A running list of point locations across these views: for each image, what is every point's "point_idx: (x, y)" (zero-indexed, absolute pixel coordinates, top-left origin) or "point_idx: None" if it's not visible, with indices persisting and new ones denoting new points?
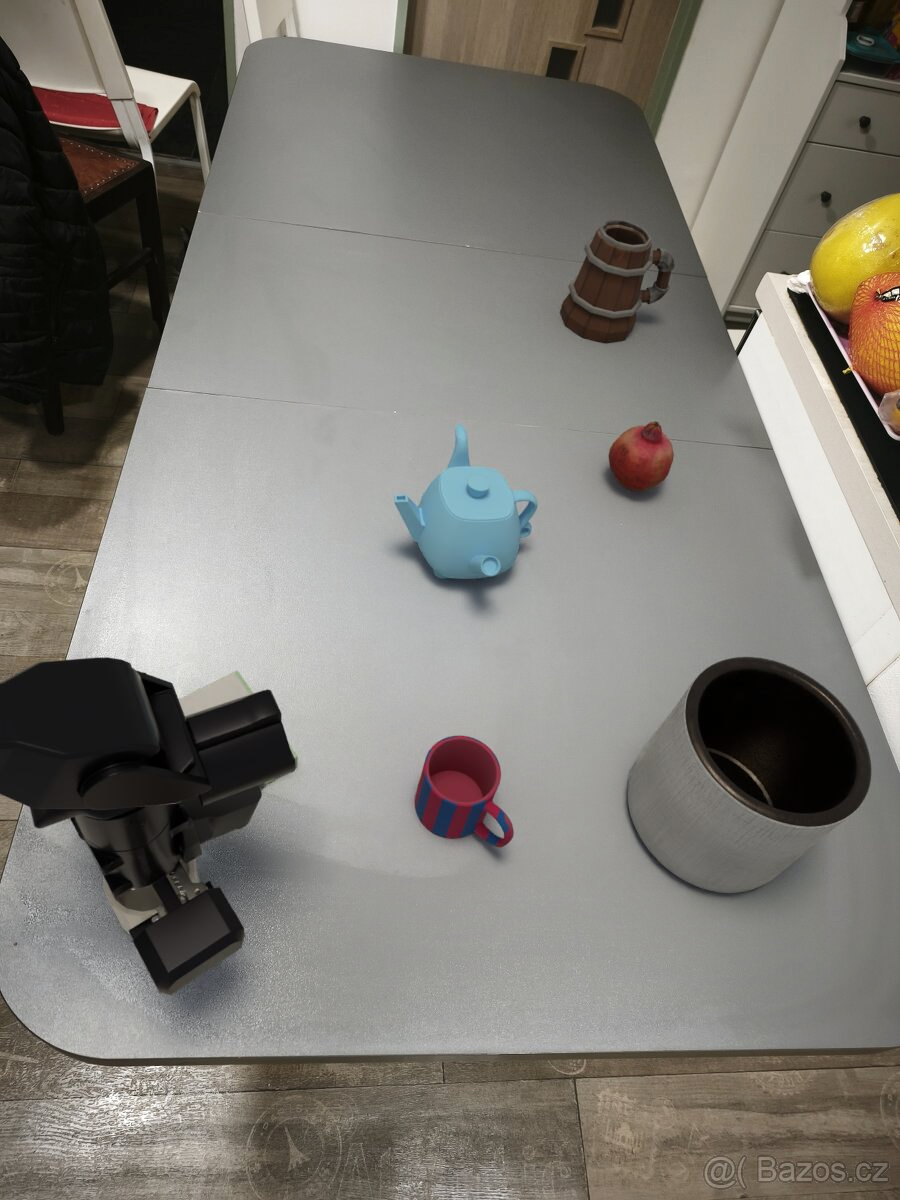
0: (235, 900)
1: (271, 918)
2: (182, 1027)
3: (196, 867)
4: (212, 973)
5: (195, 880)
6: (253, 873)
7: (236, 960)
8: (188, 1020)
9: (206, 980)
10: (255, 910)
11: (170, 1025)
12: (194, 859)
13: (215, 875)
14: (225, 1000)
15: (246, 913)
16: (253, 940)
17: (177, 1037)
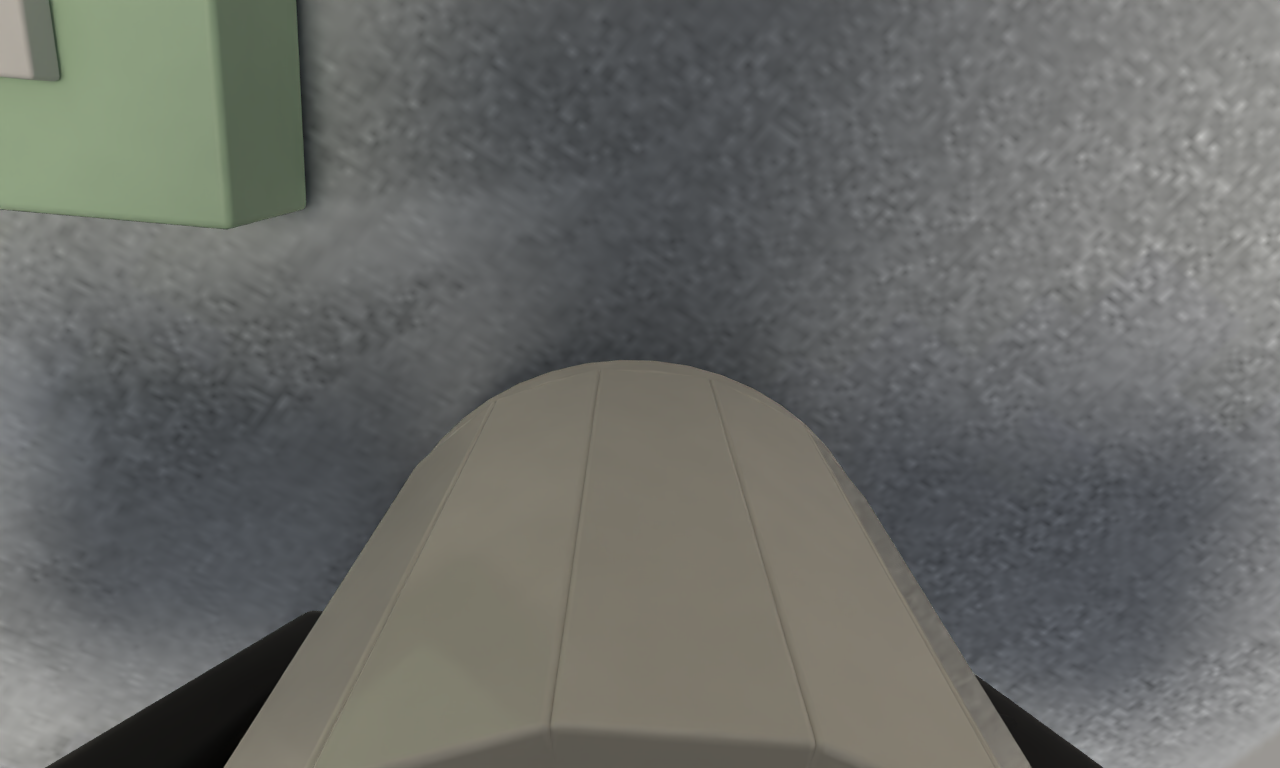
0: (898, 221)
1: (1156, 109)
2: (1168, 726)
3: (771, 529)
4: (1105, 526)
5: (975, 709)
6: (842, 19)
7: (1159, 406)
8: (1169, 697)
9: (1106, 562)
10: (1039, 160)
11: (1120, 754)
12: (851, 725)
13: (685, 229)
14: (1251, 545)
15: (1010, 215)
16: (1159, 275)
17: (1180, 756)
